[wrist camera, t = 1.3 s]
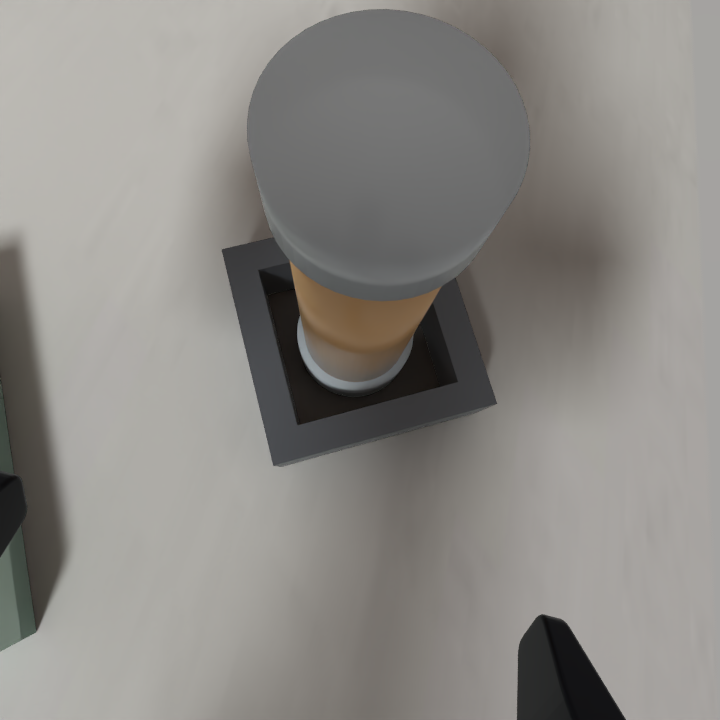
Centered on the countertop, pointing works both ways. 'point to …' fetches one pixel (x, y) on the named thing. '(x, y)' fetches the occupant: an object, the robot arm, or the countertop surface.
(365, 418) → the fuse socket
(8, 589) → the parts tray
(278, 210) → the disc
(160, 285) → the countertop surface
